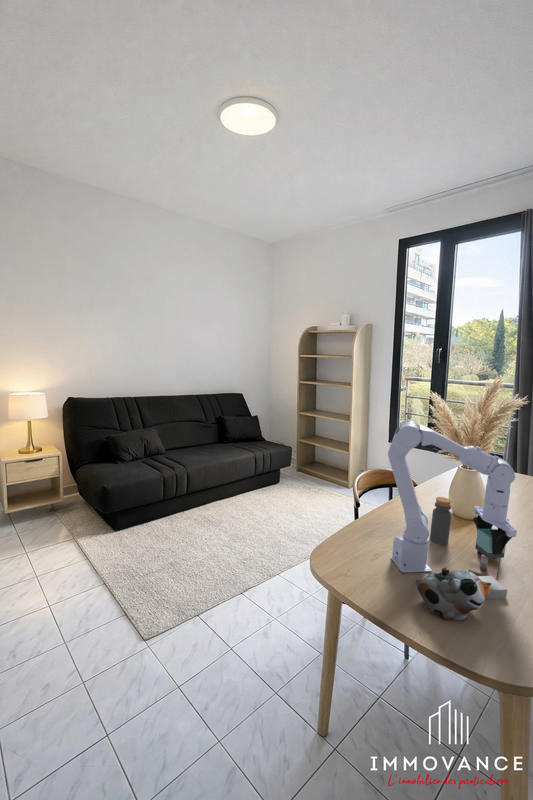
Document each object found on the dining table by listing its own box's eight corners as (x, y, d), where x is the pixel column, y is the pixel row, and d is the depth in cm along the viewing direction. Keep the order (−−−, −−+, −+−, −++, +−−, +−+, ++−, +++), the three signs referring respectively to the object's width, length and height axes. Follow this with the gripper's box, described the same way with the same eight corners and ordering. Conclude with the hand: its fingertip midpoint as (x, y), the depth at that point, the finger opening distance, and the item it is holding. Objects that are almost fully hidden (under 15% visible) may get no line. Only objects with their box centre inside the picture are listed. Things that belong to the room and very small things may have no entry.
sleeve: (487, 557, 101) (489, 537, 100) (475, 548, 106) (477, 528, 105) (503, 557, 101) (506, 537, 101) (491, 548, 106) (493, 528, 106)
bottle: (429, 541, 126) (433, 500, 124) (430, 534, 132) (434, 494, 129) (447, 546, 124) (452, 504, 122) (448, 538, 129) (453, 498, 127)
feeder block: (485, 598, 98) (486, 590, 97) (470, 584, 103) (471, 576, 103) (506, 598, 98) (507, 589, 98) (490, 583, 104) (491, 575, 104)
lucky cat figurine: (446, 584, 103) (479, 553, 97) (473, 629, 93) (511, 598, 87) (405, 578, 98) (437, 545, 92) (429, 625, 88) (467, 591, 82)
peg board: (495, 583, 104) (498, 559, 103) (467, 574, 108) (470, 550, 107) (499, 556, 119) (502, 534, 118) (475, 548, 123) (478, 528, 122)
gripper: (530, 514, 95) (522, 562, 97) (491, 492, 109) (485, 535, 111) (504, 514, 94) (498, 563, 96) (469, 492, 108) (463, 535, 110)
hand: (489, 548), depth 103 cm, fingers closed on sleeve, 5 cm apart
